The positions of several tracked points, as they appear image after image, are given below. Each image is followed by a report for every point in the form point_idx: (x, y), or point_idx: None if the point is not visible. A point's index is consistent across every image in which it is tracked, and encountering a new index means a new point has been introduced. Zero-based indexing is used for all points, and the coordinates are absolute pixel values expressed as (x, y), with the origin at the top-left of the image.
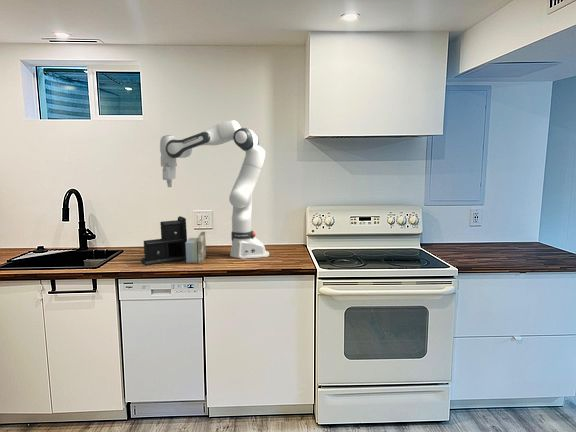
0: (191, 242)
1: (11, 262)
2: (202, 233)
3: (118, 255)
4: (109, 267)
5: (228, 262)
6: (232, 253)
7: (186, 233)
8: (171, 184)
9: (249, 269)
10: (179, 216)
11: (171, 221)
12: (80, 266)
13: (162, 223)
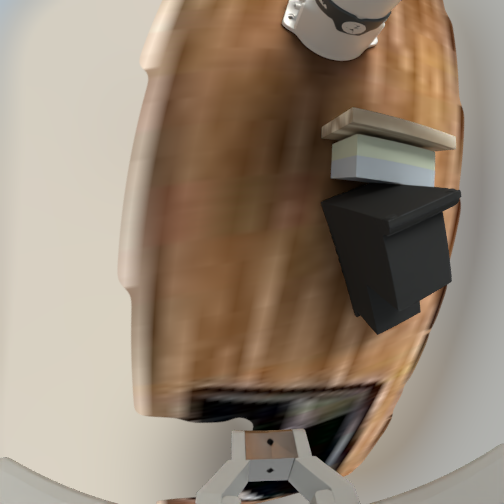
0: (432, 169)
1: (278, 494)
2: (392, 122)
3: (260, 387)
4: (385, 364)
5: (406, 80)
6: (355, 53)
7: (418, 186)
8: (242, 454)
9: (455, 61)
10: (394, 227)
11: (412, 260)
12: (352, 415)
13: (432, 292)
